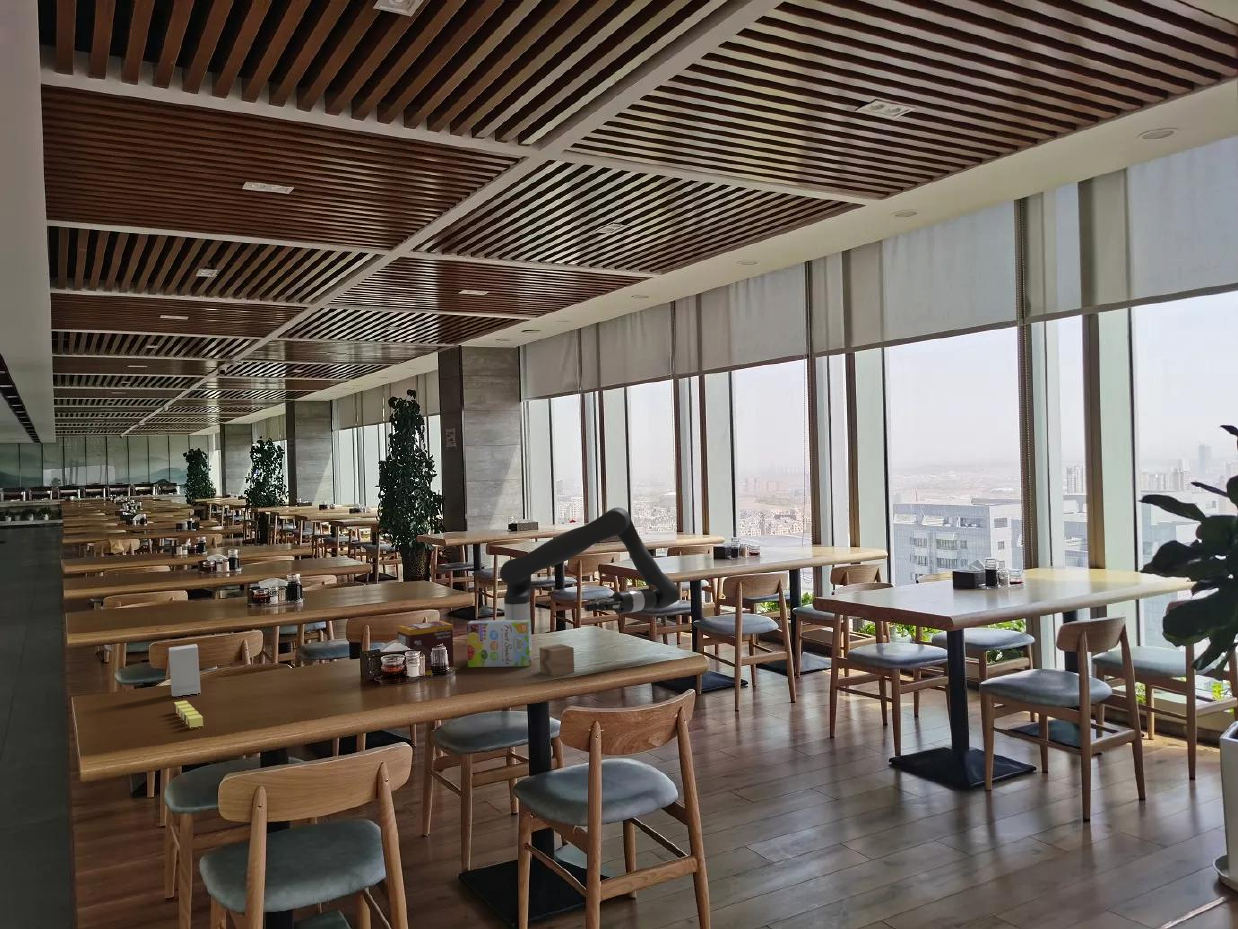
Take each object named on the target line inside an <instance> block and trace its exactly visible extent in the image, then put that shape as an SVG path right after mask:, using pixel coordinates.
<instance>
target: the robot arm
mask: <svg viewBox="0 0 1238 929" xmlns="http://www.w3.org/2000/svg"><path fill="white" fill-rule="evenodd" d="M615 536H617V537H618V538H619V539H620V541H621V542H622V543H623V545H624V546H625V548H626V550H627V552H628V554H629V557H630V559H631V561H632V563H633V565H634V567H635V569H636V571H637V573H638V574H639V575H640V577H641V579H642V580H643V582H644V583H645V584H646V585H648V586H655V587H656V589H651V588H641V589H629V590H622V591H621V590H620V591H617V592H616V591H615V592H613V594H612V596H611V598H610V597H605V598H604V599H594V600H593V601H591V603H587V604H586V603H585V604H584V605H583V606H584V607H583V608H584V611H585V612H593V611H597V612H598V611H600V612H609V611H611V612H614V613H615V614H616V615H624V614H625V615H626V614H630V613H635V612H639V611H643V610H644V611H645V610H650V609H652V610H655V609H656V610H661V609H664V608H668V607H669V606H672V605H673V604H675V603H677V602H678V601H679V600H680V596H681V595H680V594H681V593H680V590H679V587H678V586H677V584H676V583H675V582H674V581H672V579H670V577H669V576H668V575H667V574H665V573H664V572H663V571H662V569H661V568H660V567H659V565H658V563H657V562H656V560H655V559H654V558H653V556H652V555H651V553H650V552H649V550H648V548H647V547H646V545H645V543H644V542H643V541H642V539H641V537H640V535H639V533H638V531H637V529H636V527H635V525H634V523H633V520H632V518H631V516H630V514H629V512H628V511H627V510H626V509H625V508H623V507H614V508H610V509H609V510H608V511H606V512H604V513H603V514H602V515H600V516H599V517H597V518H596V519H594V520H592V521H591V522H589V523H587V524H584V525H582V526H579V527H575V528H573V529H570V530H568V531H564V532H563V533H561V534H559V535H557V536H555V537H553V538H552V539H549V540H548V541H546V542H545V543H543V544H541V545H539V546H538V547H537V548H534V550H532V551H530V552H527V553H526V554H522V555H521V556H518V557H514V558H511V559H508V560H507V561H505V562H504V563H503V564H502V566H501V568H500V570H499V577H500V579H501V581H502V582H503V583H505V584H506V592H505V594H504V597H503V605H504V607H503V608H504V609H503V610H504V620H531V604H530V601H531V600H530V599H531V598H530V597H531V593H532V575H534V574H536V573H537V572H539V571H541V570H542V571H543V570H544V569H548V568H551V567H553V566H556V565H559V564H562V563H564V562H566V561H568V560H570V559H572V558H574V557H576V556H578V555H580V554H581V553H583V552H585V551H586V550H588V549H589V548H591V547H592V546H594V545H595V544H598V543H600V542H602V541H605V540H607V539H610V538H613V537H615Z"/></svg>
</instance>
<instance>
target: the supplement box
mask: <svg viewBox="0 0 1238 929" xmlns="http://www.w3.org/2000/svg"><path fill="white" fill-rule="evenodd" d="M453 626H454V625H453V624H452V623H449V622H445V621H442V620H436V621H435V620H434V621H429V622H420V623H419V622H418V623H411V624H406V625H398V626H397V644H398V643H401V644H402V645H404V646H407V647H408V648H410V649H416V650H421V652H422V653H423V654H424V655H425V671H426V675H427V676H433V675H432V670H431V656H430V655H431V652H432V648H433V647H435V646H437V645H440V644H442V643H443V645H444V646H445V647H446V650H447V654H448V661H449V667H450V668H451V669H452V670H454V671H455V666H454V631H453V630H454V627H453ZM398 641H399V642H398ZM427 676H426V677H427Z"/></svg>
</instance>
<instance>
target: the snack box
mask: <svg viewBox="0 0 1238 929" xmlns="http://www.w3.org/2000/svg"><path fill="white" fill-rule="evenodd" d="M532 642H533V640H532V619H530V620H505V619H503V620H502V619H498V620H497V619H496V620H493V619H492V620H470V621H467V623H466V646H467V648H466V649H467V651H466V652H467V668H497V667H498V668H503V667H504V668H505V667H507V668H508V667H509V668H510V667H514V668H515V667H530V666H531V665H532V664H533V645H532Z"/></svg>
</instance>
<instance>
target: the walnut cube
mask: <svg viewBox="0 0 1238 929" xmlns="http://www.w3.org/2000/svg"><path fill="white" fill-rule="evenodd" d="M538 649H539V672H540V673H543V674H545V675H547V676H550V677H556V676H563V675H568V674H572V673H575V652H574V651H575V650H574V647H573V646H572V647H571V646H569V645H565V644H562V643H560V644H554V645H553V644H552V645H546V646H541V647H539V648H538Z"/></svg>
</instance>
